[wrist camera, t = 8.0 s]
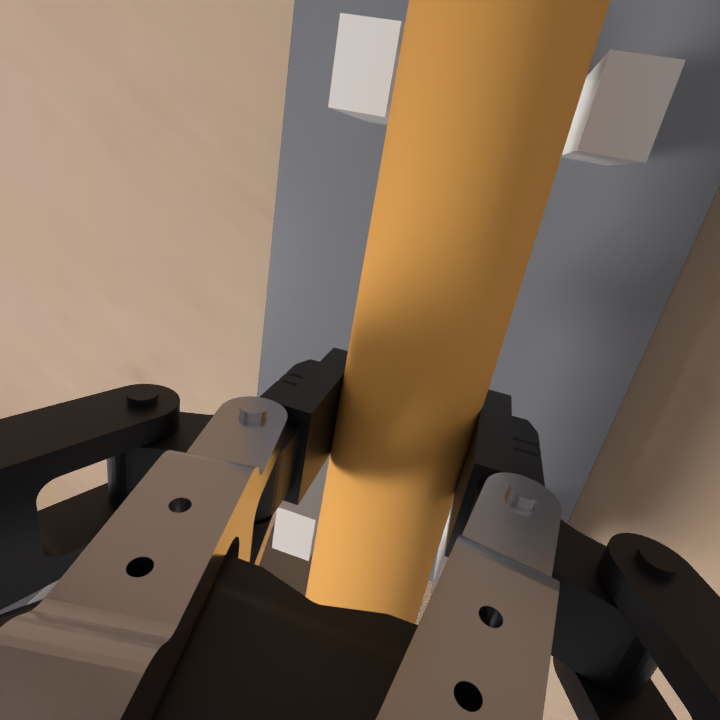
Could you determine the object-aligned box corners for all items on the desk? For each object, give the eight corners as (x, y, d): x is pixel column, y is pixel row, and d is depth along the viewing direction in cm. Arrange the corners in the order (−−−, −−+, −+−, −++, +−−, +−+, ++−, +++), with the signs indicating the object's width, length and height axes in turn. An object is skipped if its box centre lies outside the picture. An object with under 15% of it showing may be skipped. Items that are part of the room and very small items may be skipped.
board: (259, 497, 26) (194, 584, 20) (320, -72, 16) (226, -198, 10) (525, 588, 23) (531, 715, 18) (791, -24, 13) (986, -156, 8)
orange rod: (390, 684, 17) (368, 788, 14) (307, 651, 18) (268, 745, 15) (649, -158, 8) (733, -344, 5) (460, -169, 9) (441, -343, 6)
